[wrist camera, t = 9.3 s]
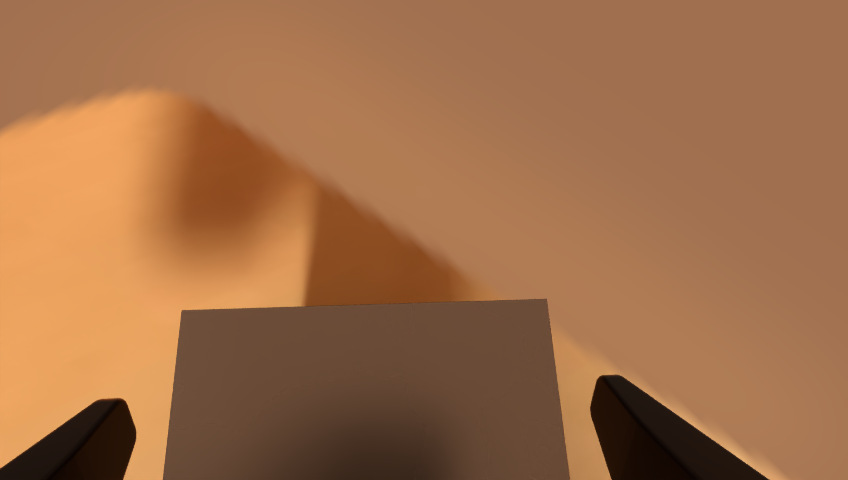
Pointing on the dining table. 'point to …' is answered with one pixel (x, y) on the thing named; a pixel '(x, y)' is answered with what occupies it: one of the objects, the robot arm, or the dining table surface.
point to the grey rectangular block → (367, 393)
